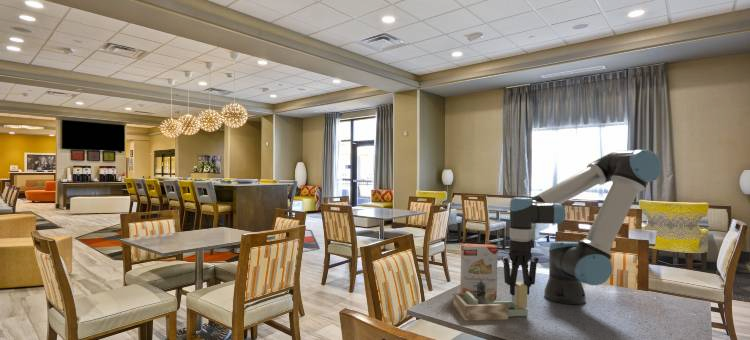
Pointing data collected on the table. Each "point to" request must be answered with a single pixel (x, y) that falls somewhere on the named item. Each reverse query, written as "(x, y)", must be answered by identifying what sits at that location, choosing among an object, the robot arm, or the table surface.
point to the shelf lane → (480, 308)
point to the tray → (520, 301)
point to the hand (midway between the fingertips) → (519, 303)
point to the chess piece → (481, 293)
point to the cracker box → (479, 267)
